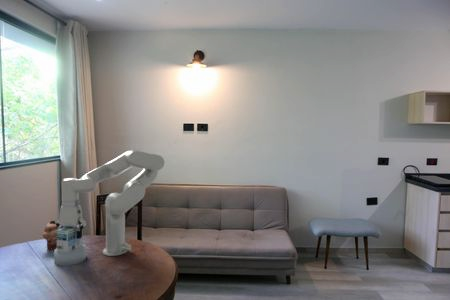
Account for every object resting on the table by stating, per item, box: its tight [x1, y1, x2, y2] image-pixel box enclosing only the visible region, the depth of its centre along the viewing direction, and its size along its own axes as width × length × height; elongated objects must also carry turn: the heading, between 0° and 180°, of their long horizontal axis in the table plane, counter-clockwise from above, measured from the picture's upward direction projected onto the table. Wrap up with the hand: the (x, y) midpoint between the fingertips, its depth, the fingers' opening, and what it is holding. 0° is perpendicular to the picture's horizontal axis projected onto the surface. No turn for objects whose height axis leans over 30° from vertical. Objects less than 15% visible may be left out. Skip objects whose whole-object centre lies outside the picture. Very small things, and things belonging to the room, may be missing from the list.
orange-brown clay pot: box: [42, 220, 65, 250], centre depth 162 cm, size 20×12×14 cm, turn 170°
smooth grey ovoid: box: [53, 243, 87, 267], centre depth 145 cm, size 14×14×6 cm
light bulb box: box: [57, 226, 84, 253], centre depth 144 cm, size 11×7×11 cm, turn 168°
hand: (70, 237), depth 144 cm, fingers open, 9 cm apart
